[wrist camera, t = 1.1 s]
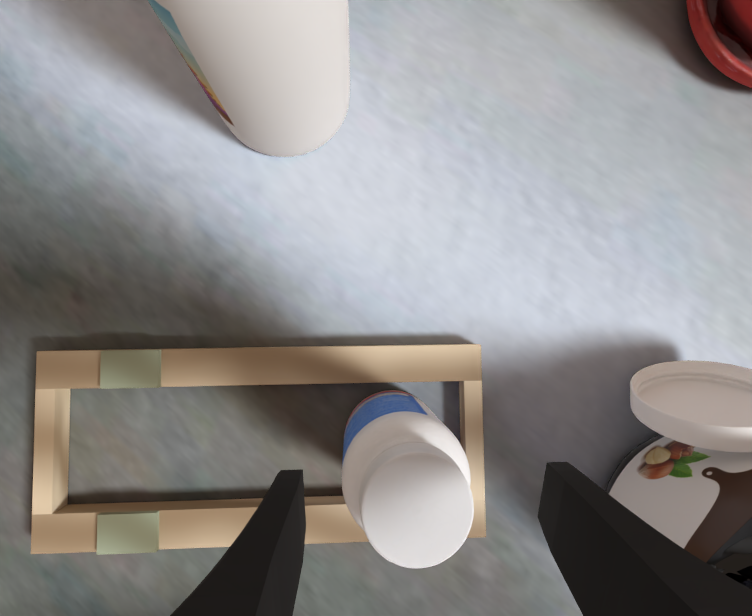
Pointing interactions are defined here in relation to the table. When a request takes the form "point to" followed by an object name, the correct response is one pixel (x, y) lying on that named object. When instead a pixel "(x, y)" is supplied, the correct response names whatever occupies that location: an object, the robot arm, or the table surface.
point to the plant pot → (724, 35)
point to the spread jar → (694, 461)
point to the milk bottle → (268, 66)
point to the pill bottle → (406, 480)
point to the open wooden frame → (221, 368)
